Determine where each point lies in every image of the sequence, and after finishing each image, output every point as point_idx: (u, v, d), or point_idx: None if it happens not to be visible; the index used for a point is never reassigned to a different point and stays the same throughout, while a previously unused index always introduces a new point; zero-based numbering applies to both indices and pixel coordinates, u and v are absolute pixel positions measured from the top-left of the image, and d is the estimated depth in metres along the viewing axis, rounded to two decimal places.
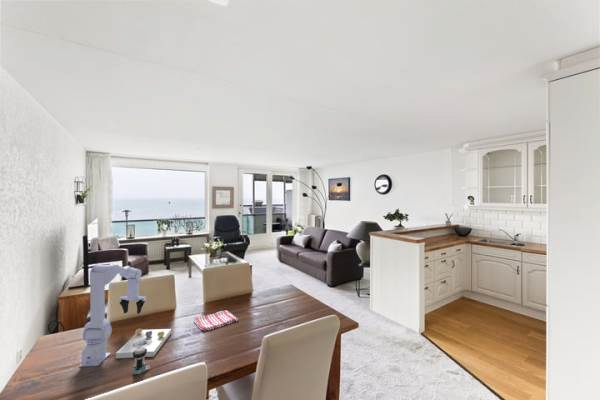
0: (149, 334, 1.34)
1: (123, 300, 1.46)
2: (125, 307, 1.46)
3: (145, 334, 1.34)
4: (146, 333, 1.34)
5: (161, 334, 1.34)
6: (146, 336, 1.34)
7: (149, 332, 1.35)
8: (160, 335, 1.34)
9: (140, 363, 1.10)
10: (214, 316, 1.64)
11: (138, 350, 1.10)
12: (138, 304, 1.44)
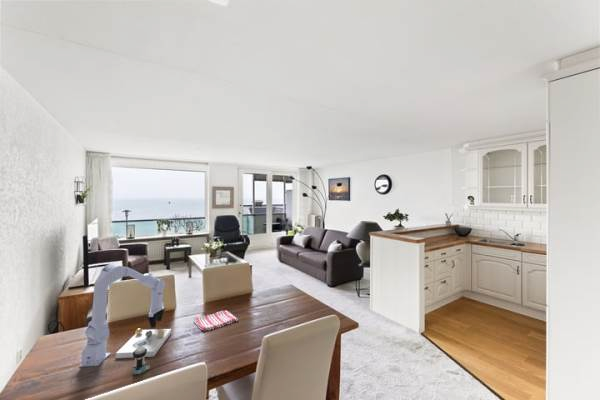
0: (149, 334, 1.34)
1: None
2: (157, 315, 1.47)
3: (145, 334, 1.34)
4: (146, 333, 1.34)
5: (161, 334, 1.34)
6: (146, 336, 1.34)
7: (149, 332, 1.35)
8: (160, 335, 1.34)
9: (140, 363, 1.10)
10: (214, 316, 1.64)
11: (138, 350, 1.10)
12: None
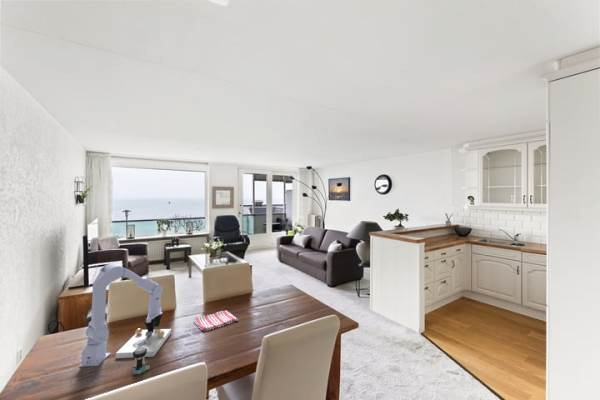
0: (149, 334, 1.34)
1: None
2: (155, 320, 1.45)
3: (145, 334, 1.34)
4: (146, 333, 1.34)
5: (161, 334, 1.34)
6: (146, 336, 1.34)
7: (149, 332, 1.35)
8: (160, 335, 1.34)
9: (140, 363, 1.10)
10: (214, 316, 1.64)
11: (138, 350, 1.10)
12: None
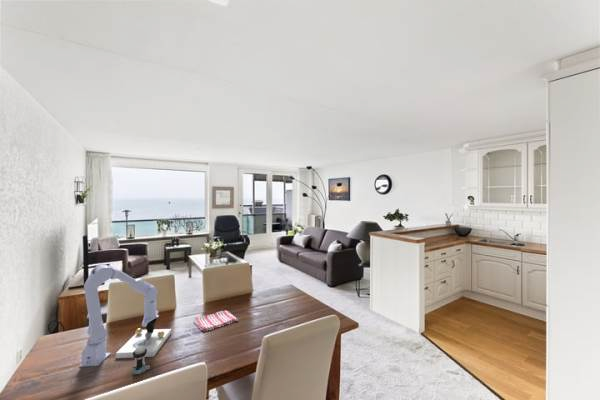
0: (149, 337, 1.33)
1: None
2: None
3: (145, 336, 1.33)
4: (145, 336, 1.33)
5: (161, 334, 1.34)
6: (146, 337, 1.34)
7: (148, 335, 1.33)
8: (160, 335, 1.34)
9: (140, 363, 1.10)
10: (214, 316, 1.64)
11: (138, 350, 1.10)
12: None
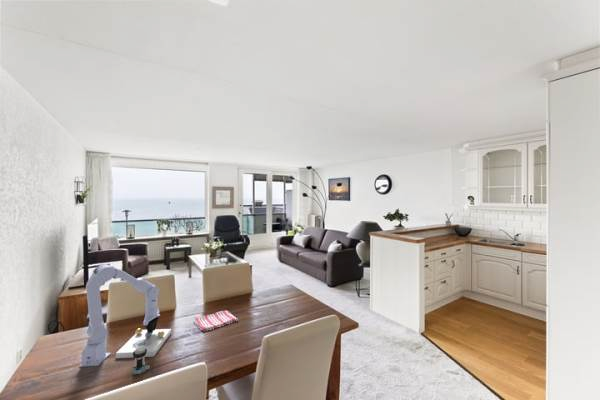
0: (149, 336, 1.33)
1: None
2: None
3: (145, 336, 1.33)
4: (145, 336, 1.33)
5: (161, 334, 1.34)
6: (146, 337, 1.34)
7: (148, 335, 1.33)
8: (160, 335, 1.34)
9: (140, 363, 1.10)
10: (214, 316, 1.64)
11: (138, 350, 1.10)
12: None
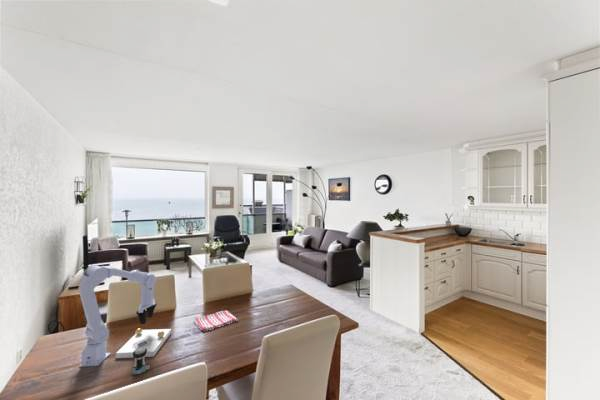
0: (142, 343, 1.28)
1: None
2: (148, 311, 1.42)
3: None
4: None
5: (161, 334, 1.34)
6: (139, 345, 1.27)
7: None
8: (160, 335, 1.34)
9: (140, 363, 1.10)
10: (214, 316, 1.64)
11: (138, 350, 1.10)
12: None
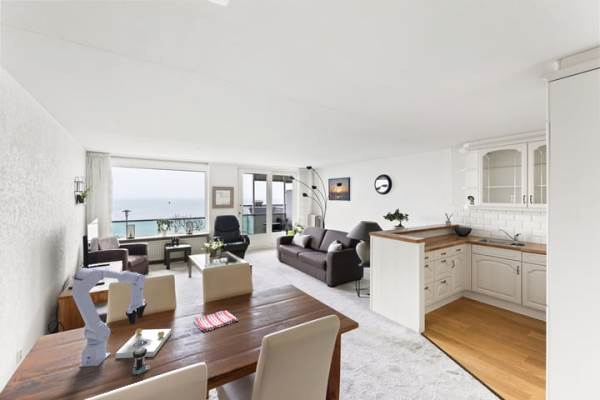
0: (143, 343, 1.28)
1: None
2: (138, 311, 1.41)
3: None
4: None
5: (161, 334, 1.34)
6: (139, 344, 1.27)
7: (144, 342, 1.29)
8: (160, 335, 1.34)
9: (140, 363, 1.10)
10: (214, 316, 1.64)
11: (138, 350, 1.10)
12: None
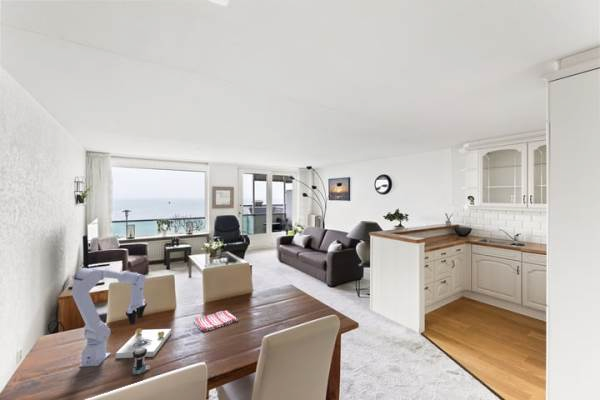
0: (144, 343, 1.29)
1: None
2: (138, 311, 1.41)
3: (140, 343, 1.29)
4: (142, 342, 1.29)
5: (161, 334, 1.34)
6: (140, 343, 1.28)
7: (145, 342, 1.30)
8: (160, 335, 1.34)
9: (140, 363, 1.10)
10: (214, 316, 1.64)
11: (138, 350, 1.10)
12: None
